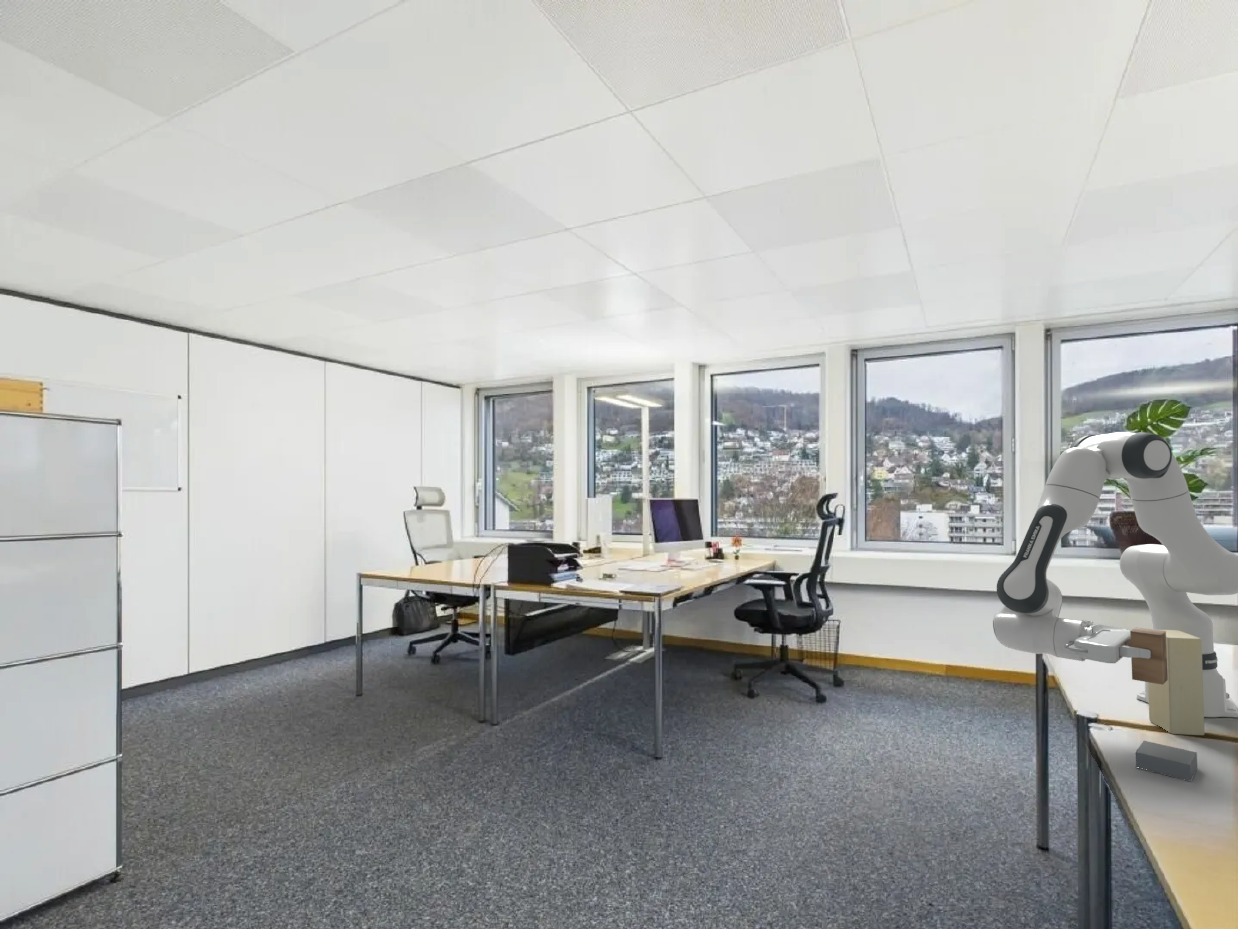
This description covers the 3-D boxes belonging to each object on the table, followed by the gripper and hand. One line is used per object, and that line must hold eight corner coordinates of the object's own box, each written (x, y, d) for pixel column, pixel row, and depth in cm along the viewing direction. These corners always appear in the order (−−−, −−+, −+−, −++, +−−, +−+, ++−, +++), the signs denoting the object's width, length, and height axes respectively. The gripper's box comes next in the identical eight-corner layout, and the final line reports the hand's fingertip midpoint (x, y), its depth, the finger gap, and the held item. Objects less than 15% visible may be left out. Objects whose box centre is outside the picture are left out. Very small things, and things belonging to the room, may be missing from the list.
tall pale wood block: (1210, 736, 140) (1205, 638, 140) (1170, 734, 141) (1166, 637, 142) (1185, 722, 147) (1181, 630, 148) (1148, 721, 149) (1144, 629, 150)
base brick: (1144, 755, 131) (1143, 740, 131) (1197, 768, 125) (1196, 752, 125) (1135, 767, 125) (1135, 752, 125) (1190, 781, 119) (1190, 765, 119)
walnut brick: (1137, 674, 138) (1135, 627, 139) (1167, 679, 135) (1165, 631, 135) (1132, 679, 135) (1130, 631, 135) (1163, 684, 131) (1161, 635, 132)
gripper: (1060, 633, 138) (1143, 644, 128) (1086, 618, 152) (1162, 628, 141) (1061, 663, 138) (1144, 677, 127) (1087, 646, 151) (1164, 657, 141)
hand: (1154, 651), depth 134 cm, fingers closed on walnut brick, 5 cm apart
